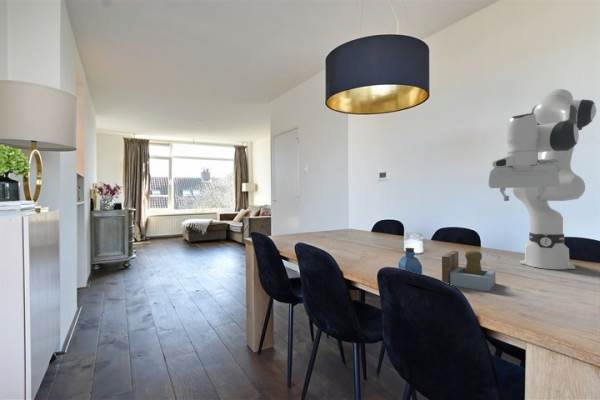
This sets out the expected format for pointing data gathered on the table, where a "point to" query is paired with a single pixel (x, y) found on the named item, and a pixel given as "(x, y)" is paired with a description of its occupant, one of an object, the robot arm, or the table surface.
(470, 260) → the cork
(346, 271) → the table surface
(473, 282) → the socket block
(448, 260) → the wall
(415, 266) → the perfume bottle
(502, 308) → the table surface
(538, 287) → the table surface
